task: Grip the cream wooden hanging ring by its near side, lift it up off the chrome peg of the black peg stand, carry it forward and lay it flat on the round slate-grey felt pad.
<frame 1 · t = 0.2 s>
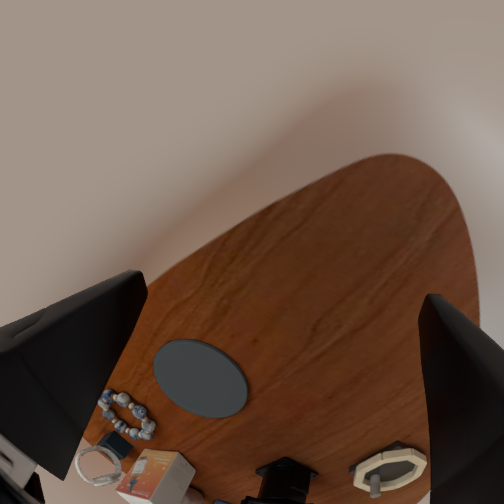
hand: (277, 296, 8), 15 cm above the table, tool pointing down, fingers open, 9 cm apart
ring: (389, 469, 27), point 1 cm above the table, touching peg stand
watch: (119, 440, 40), on the table
small box: (170, 458, 37), on the table
peg stand: (389, 463, 28), on the table
silver water bottle: (190, 489, 40), on the table
bracelet: (129, 412, 36), on the table
felt pad: (199, 381, 30), on the table
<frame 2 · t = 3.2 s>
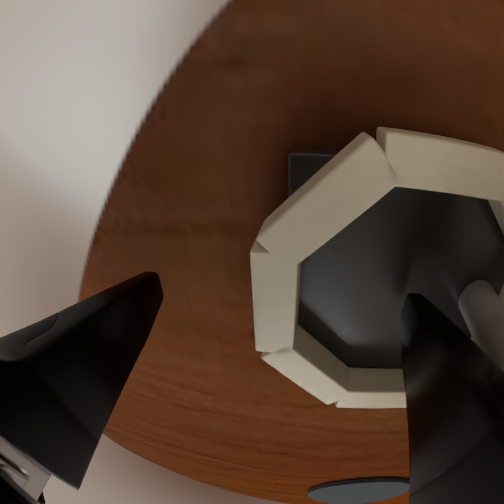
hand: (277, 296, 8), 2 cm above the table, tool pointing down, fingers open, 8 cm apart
ring: (412, 293, 8), point 1 cm above the table, touching peg stand
peg stand: (405, 276, 9), on the table
felt pad: (359, 491, 21), on the table
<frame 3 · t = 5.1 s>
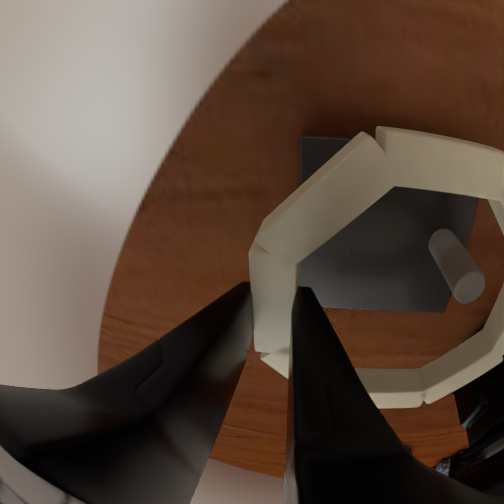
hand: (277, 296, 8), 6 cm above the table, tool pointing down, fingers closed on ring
ring: (411, 293, 8), point 5 cm above the table, touching gripper
peg stand: (386, 228, 12), on the table
bracelet: (463, 457, 23), on the table
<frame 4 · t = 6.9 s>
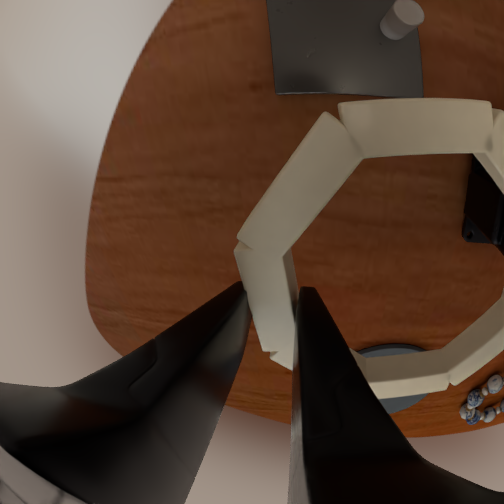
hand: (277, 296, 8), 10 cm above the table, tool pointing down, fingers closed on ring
ring: (415, 270, 8), point 10 cm above the table, touching arm, gripper
peg stand: (344, 29, 12), on the table
bracelet: (495, 390, 21), on the table
felt pad: (381, 383, 23), on the table
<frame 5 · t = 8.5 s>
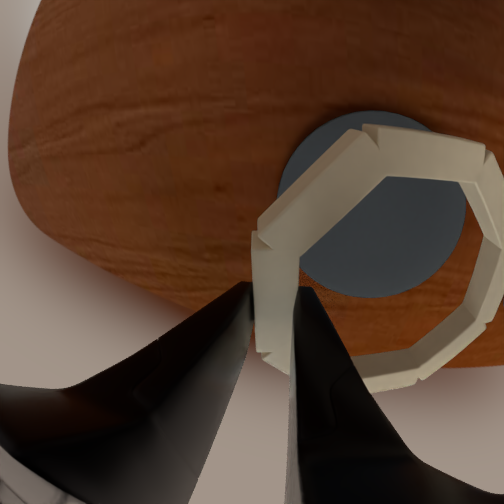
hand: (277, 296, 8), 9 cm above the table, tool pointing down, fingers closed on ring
ring: (398, 277, 9), point 7 cm above the table, tilted 12°, touching gripper
felt pad: (376, 211, 15), on the table
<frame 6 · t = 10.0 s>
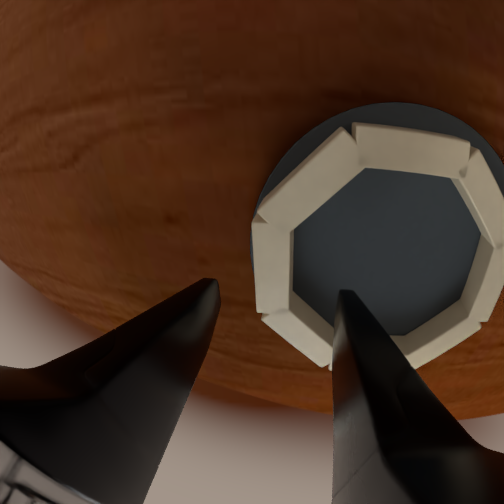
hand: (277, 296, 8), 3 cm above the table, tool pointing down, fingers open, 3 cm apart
ring: (390, 262, 10), point 1 cm above the table, touching felt pad
felt pad: (397, 255, 10), on the table
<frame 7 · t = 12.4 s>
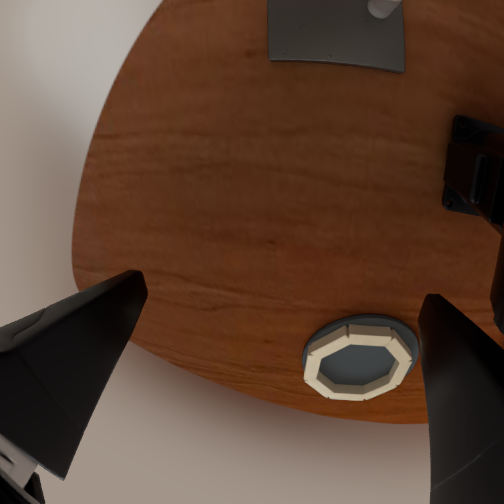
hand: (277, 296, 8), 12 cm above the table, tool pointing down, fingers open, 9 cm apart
ring: (357, 362, 24), point 1 cm above the table, touching felt pad
peg stand: (335, 8, 12), on the table
felt pad: (361, 358, 25), on the table
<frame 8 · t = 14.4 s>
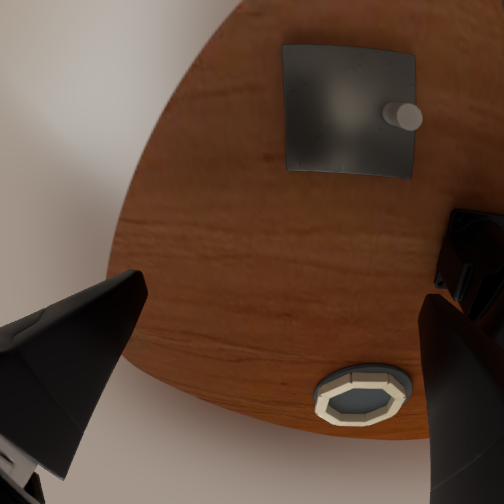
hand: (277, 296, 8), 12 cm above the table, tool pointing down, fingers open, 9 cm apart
ring: (360, 398, 27), point 1 cm above the table, touching felt pad
peg stand: (350, 108, 16), on the table
felt pad: (363, 394, 28), on the table
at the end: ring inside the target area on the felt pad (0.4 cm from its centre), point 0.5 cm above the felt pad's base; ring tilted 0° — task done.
